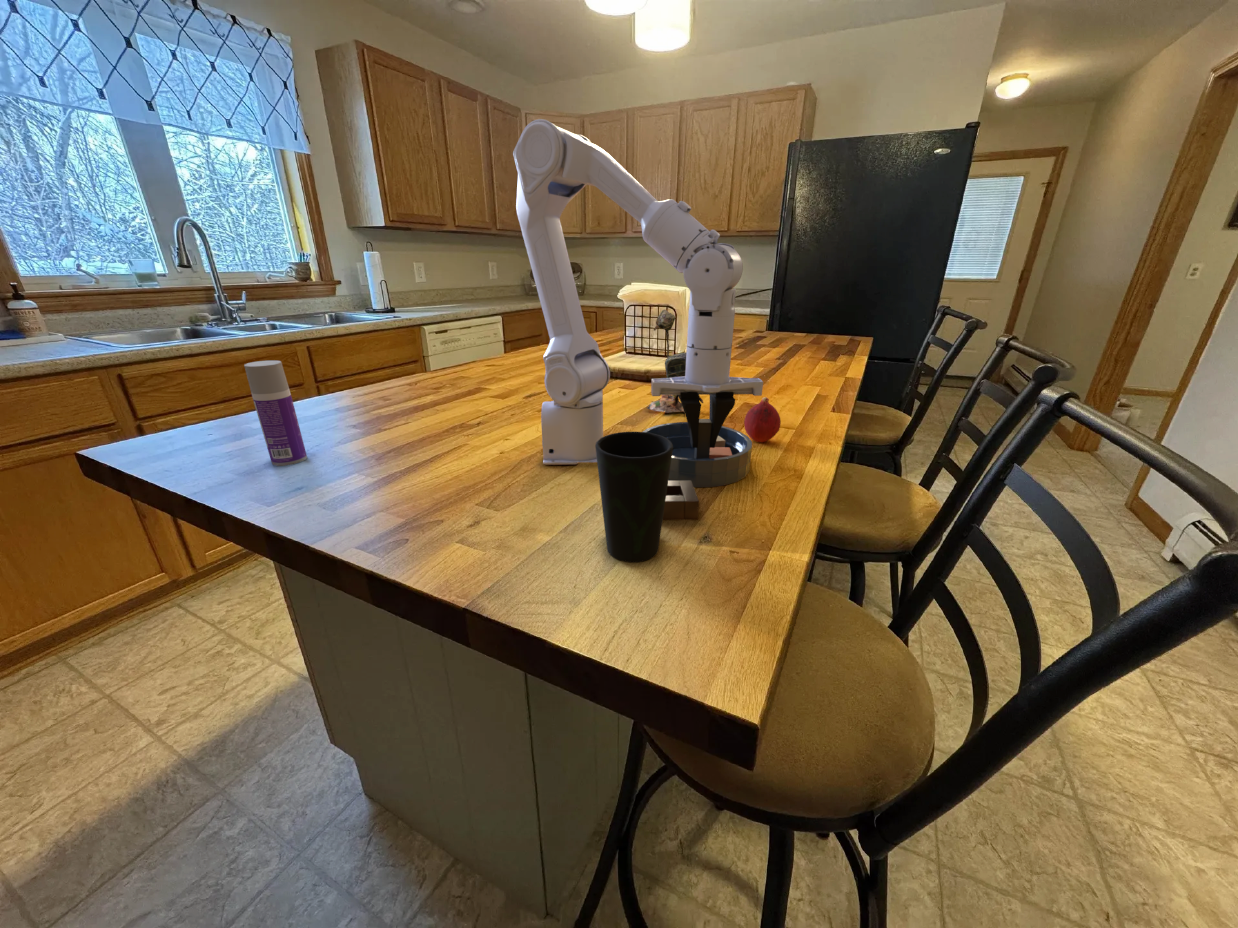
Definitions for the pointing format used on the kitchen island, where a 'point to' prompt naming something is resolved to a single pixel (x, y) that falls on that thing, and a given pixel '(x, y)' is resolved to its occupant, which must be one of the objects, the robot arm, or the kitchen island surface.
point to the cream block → (720, 442)
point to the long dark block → (703, 439)
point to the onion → (762, 421)
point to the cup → (633, 492)
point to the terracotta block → (719, 452)
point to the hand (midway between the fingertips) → (702, 445)
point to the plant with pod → (670, 368)
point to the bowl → (705, 469)
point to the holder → (681, 501)
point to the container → (276, 412)
